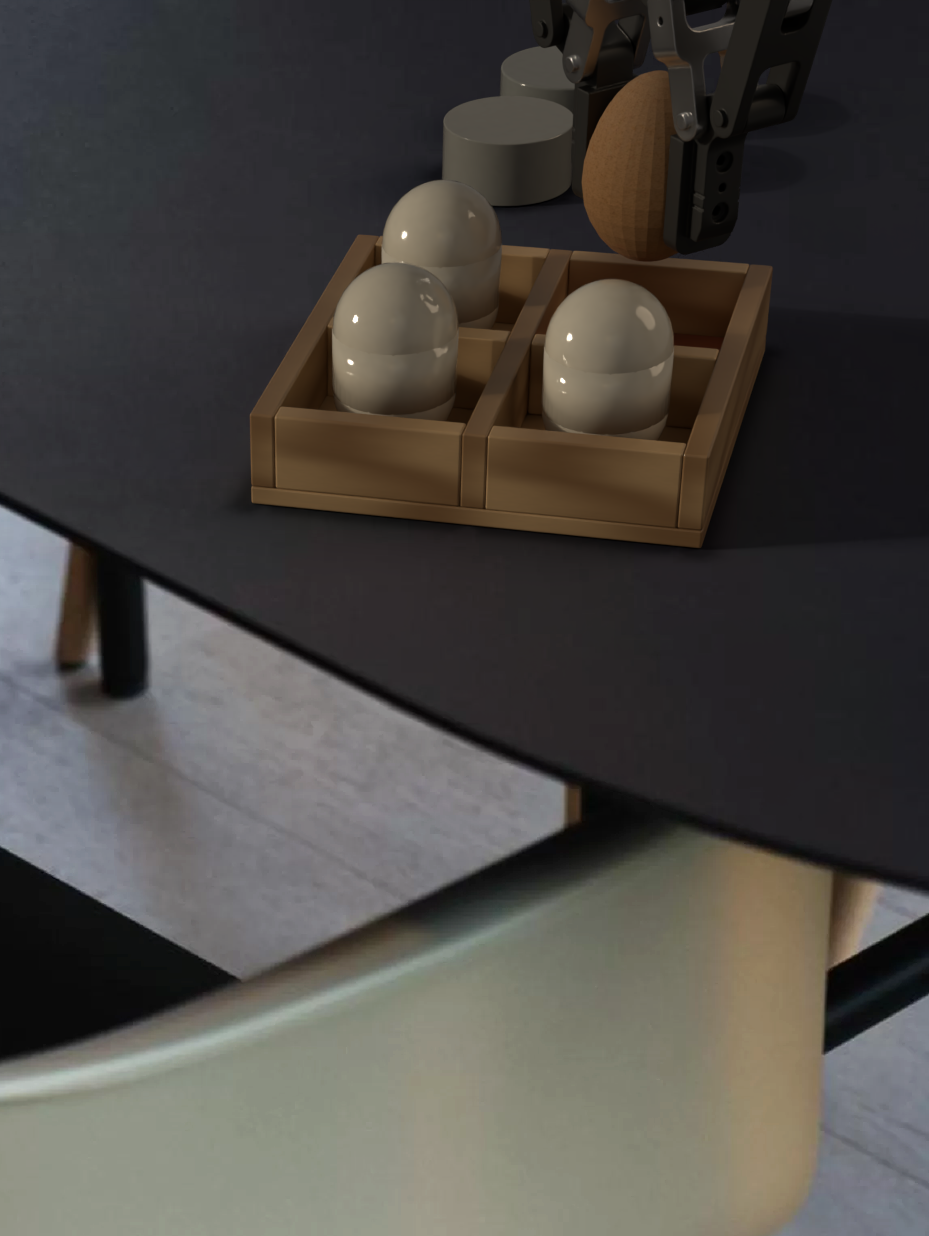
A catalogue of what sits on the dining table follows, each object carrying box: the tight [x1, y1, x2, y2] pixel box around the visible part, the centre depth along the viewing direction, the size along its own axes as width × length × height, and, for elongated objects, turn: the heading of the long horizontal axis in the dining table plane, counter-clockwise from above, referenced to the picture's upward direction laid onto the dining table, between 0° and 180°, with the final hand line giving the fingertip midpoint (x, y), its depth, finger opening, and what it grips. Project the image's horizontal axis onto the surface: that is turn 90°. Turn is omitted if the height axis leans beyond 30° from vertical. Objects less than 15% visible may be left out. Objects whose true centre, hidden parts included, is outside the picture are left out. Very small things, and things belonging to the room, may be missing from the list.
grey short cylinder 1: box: [499, 45, 575, 113], centre depth 116 cm, size 5×5×2 cm
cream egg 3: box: [541, 279, 674, 441], centre depth 91 cm, size 4×4×6 cm
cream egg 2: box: [332, 262, 459, 421], centre depth 93 cm, size 4×4×6 cm
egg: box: [582, 69, 679, 262], centre depth 93 cm, size 4×4×6 cm
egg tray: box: [249, 234, 774, 549], centre depth 96 cm, size 14×14×3 cm
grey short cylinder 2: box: [441, 95, 574, 207], centre depth 112 cm, size 5×5×2 cm
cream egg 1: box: [381, 179, 503, 330], centre depth 98 cm, size 4×4×6 cm
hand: (649, 217), depth 95 cm, fingers closed on egg, 4 cm apart
